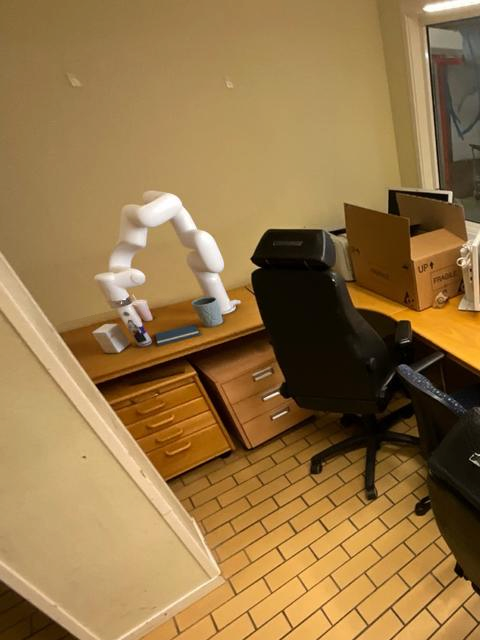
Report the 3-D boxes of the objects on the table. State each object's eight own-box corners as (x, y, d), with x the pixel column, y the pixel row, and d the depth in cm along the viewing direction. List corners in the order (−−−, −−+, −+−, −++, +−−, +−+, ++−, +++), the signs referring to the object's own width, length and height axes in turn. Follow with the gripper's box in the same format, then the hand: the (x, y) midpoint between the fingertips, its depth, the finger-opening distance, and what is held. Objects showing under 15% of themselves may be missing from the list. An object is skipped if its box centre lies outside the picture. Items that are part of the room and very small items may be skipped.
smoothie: (137, 321, 196) (122, 295, 188) (150, 315, 201) (136, 290, 193) (145, 323, 194) (130, 297, 186) (159, 318, 199) (144, 292, 191)
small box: (118, 344, 178) (104, 323, 172) (131, 343, 178) (118, 323, 172) (105, 353, 171) (91, 332, 165) (118, 353, 172) (105, 332, 166)
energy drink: (155, 341, 180) (141, 317, 173) (145, 347, 176) (131, 323, 169) (144, 340, 181) (130, 317, 174) (134, 346, 176) (120, 322, 170)
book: (195, 325, 193) (194, 323, 192) (199, 335, 186) (198, 333, 185) (156, 335, 185) (155, 333, 184) (158, 345, 177) (157, 344, 177)
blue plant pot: (198, 323, 195) (187, 301, 188) (219, 316, 202) (209, 294, 195) (208, 329, 190) (197, 307, 183) (229, 321, 197) (220, 299, 190)
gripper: (132, 306, 163) (153, 343, 173) (130, 293, 174) (150, 328, 184) (109, 311, 159) (132, 348, 169) (108, 297, 170) (130, 333, 180)
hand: (141, 337), depth 177 cm, fingers open, 7 cm apart
